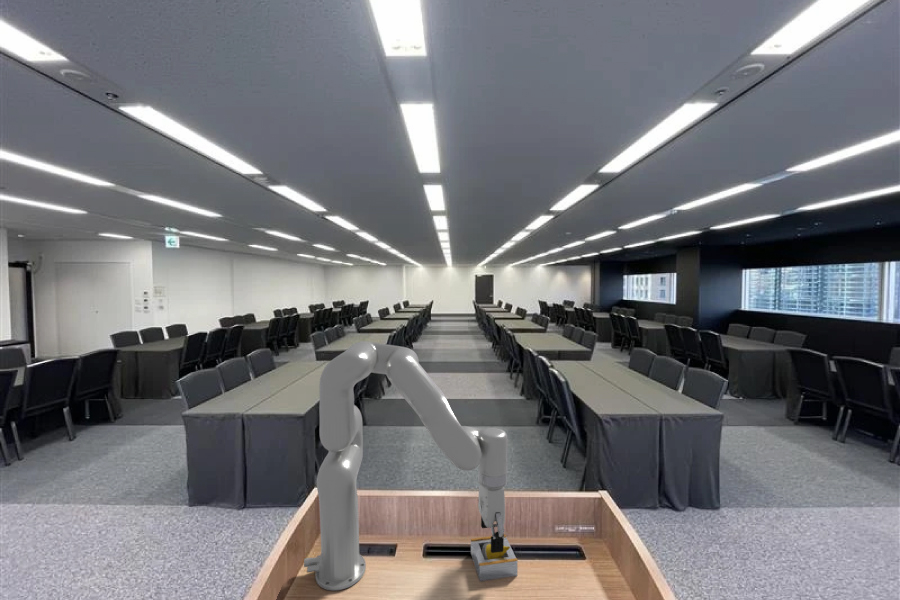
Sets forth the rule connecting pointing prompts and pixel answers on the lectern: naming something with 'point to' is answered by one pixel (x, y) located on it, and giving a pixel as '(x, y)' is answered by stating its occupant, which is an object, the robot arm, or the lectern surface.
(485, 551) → the drill bit
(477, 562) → the block
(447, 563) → the lectern surface
